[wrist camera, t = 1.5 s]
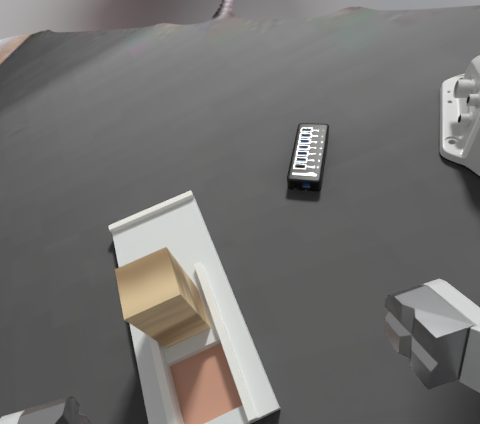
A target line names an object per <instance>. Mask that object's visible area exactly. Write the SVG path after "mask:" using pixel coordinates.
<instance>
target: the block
mask: <svg viewBox="0 0 480 424" xmlns="http://www.w3.org/2000/svg"><path fill="white" fill-rule="evenodd" d="M115 273H116V278H117V284H118V289H119V295H120V300H121V306H122V311H123V317H124V320H125V321H127V322H128V323H130V324H131V325H133V326H134V327H136V328H137V329H139V330H141V331H142V332H144V333H145V334H147V335H148V336H150V337H151V338H153V339H154V340H156V341H157V342H159V343H160V344H162V345H163V346H165V347H166V348H169V347H171V346H173V345H175V344H177V343H180V342H182V341H184V340H186V339H188V338H190V337H193V336H195V335H197V334H199V333H201V332H203V331H206V330H208V329H210V328H211V327H210V324H209V321H208V318H207V315H206V312H205V309H204V306H203V303H202V300H201V298H200V295H199V292H198V289H197V287H196V286H195V284H194V283H193V282H192V280H191V279H190V278H189V276H188V275H187V274H186V272H185V271H184V270H183V268H182V267H181V266H180V264H179V263H178V262H177V260H176V259H175V258H174V256H173V255H172V254H171V253H170V251H169V250H168V249H167V247H165V248H162V249H160V250H158V251H156V252H153V253H151V254H149V255H146V256H144V257H142V258H140V259H137V260H135V261H133V262H131V263H128V264H126V265H124V266H121V267H119V268H117V269H115Z"/></svg>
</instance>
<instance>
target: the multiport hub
mask: <svg viewBox="0 0 480 424" xmlns="http://www.w3.org/2000/svg"><path fill="white" fill-rule="evenodd" d="M328 133H329V125H328V124H307V123H301V124H299V125H298V129H297V134H296V138H295V143H294V148H293V152H292V157H291V162H290V167H289V171H288V176H287V182H288V188H289V189H292V190H305V191H320V190H321V184H322V177H323V170H324V163H325V156H326V149H327V142H328Z"/></svg>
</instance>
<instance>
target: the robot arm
mask: <svg viewBox="0 0 480 424" xmlns="http://www.w3.org/2000/svg"><path fill="white" fill-rule="evenodd" d="M440 154H441V155H442V156H443V157H444V158H446V159H448V160H451V161H453V162H456V163H459V164H462V165H464V166H466V167H468V168H469V169H471V170H472V171H473V172H475V173H476V174H478V175H479V176H480V55H479V56H477V57H476V58H474V59H473V60H472V61H471V62H470V64H469V66H468V68H467V70H466V72H465V74H461V75H458V76H455V77H452V78H450V79H448V80H446V81H444V82H443V84H442V86H441V88H440ZM385 307H386V308H387V309H388V310H389V311H390V312H389V313H388V315H387V316H386V317H385V331H386V334H387V337H388V339H389V341H390V343H391V344H392V346H393V347H394V349H395V350H396V351H397V352H398V354H401V355H403V356H405V357H407V358H409V359H410V368H411V369H412V371H413V372H414V373H415V374H416V375H417V377H418V378H419V379H420V380H421V381H422V383H423V384H424V385H425V386H426V387H427V389H428V390H429V389H432V388H435V387H438V386H441V385H444V384H447V383H450V382H453V381H456V380H459V379H460V380H459V382H461V383H463V384H465V385H466V386H468V387H470V388H472V389H474V390H475V391H477V392H479V393H480V308H479V307H478V306H477V305H476V304H474V303H473V302H472V301H470V300H469V299H468V298H467V297H465V296H464V295H463V294H461V293H460V292H459V291H458V290H456V289H455V288H454V287H452V286H451V285H450V284H448V283H447V282H446V281H444V280H441V279H437V280H434V281H431V282H428V283H425V284H422V285H418V286H415V287H412V288H409V289H405V290H402V291H399V292H396V293H393V294H390V295H388V296H387V298H386V301H385ZM79 406H80V404H79V403H78V402H77V400H76V399H75V397H74V396H72V397H67V398H64V399H60V400H57V401H53V402H50V403H46V404H43V405H40V406H36V407H33V408H29V409H26V410H23V411H20V412H16V413H13V414H10V415H6V416H3V417H1V419H0V424H91V422H90V421H89V419H88V417H87V416H85V415H82V414H79V413H78V412H79Z"/></svg>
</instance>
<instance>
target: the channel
mask: <svg viewBox="0 0 480 424" xmlns="http://www.w3.org/2000/svg"><path fill="white" fill-rule="evenodd" d="M109 230H110V231H111V232H112V235H113V240H114V245H115V250H116V256H117V261H118V266H119V267H121V266H124V265H126V264H128V263H131V262H133V261H135V260H137V259H140V258H142V257H144V256H146V255H149V254H151V253H153V252H156V251H158V250H160V249H162V248H165V247H167V249H168V250H169V251H170V253H171V254H172V255H173V256H174V258H175V259H176V260H177V262H178V263H179V264H180V266H181V267H182V268H183V270H184V271H185V272H186V274H187V275H188V276H189V278H190V279H191V280H192V282H193V283H194V284H195V286H196V287H197V289H198V292H199V295H200V298H201V300H202V303H203V306H204V309H205V312H206V315H207V318H208V321H209V324H210V327H211V328H210V329H208V330H206V331H203V332H201V333H199V334H197V335H195V336H193V337H190V338H188V339H186V340H184V341H182V342H180V343H177V344H175V345H173V346H171V347H169V348H166V347H165V346H163V345H162V344H160V343H159V342H157V341H156V340H154V339H153V338H151V337H150V336H148V335H147V334H145V333H144V332H142V331H141V330H139V329H137V328H136V327H134V326H133V325H131V324H130V323H129V324H130V329H131V334H132V339H133V345H134V350H135V355H136V360H137V366H138V371H139V376H140V381H141V386H142V392H143V397H144V402H145V407H146V413H147V418H148V423H149V424H251V423H253V422H255V421H257V420H259V419H262V418H264V417H266V416H268V415H270V414H272V413H274V412H276V411H278V410H280V407H279V404H278V402H277V399H276V397H275V394H274V392H273V389H272V387H271V384H270V382H269V379H268V377H267V375H266V372H265V370H264V367H263V365H262V362H261V360H260V357H259V355H258V352H257V350H256V347H255V345H254V342H253V340H252V338H251V335H250V333H249V330H248V328H247V325H246V323H245V320H244V318H243V315H242V313H241V310H240V308H239V306H238V303H237V301H236V298H235V296H234V293H233V291H232V288H231V286H230V283H229V281H228V278H227V276H226V274H225V271H224V269H223V266H222V264H221V261H220V259H219V256H218V254H217V251H216V249H215V246H214V244H213V242H212V239H211V237H210V234H209V232H208V229H207V227H206V224H205V222H204V219H203V217H202V214H201V212H200V210H199V207H198V205H197V202H196V200H195V198H194V196H193V194H192V192H191V190H190V191H188V192H186V193H183V194H181V195H179V196H176V197H174V198H172V199H169V200H167V201H165V202H162V203H160V204H158V205H155V206H153V207H151V208H148V209H146V210H144V211H141V212H139V213H137V214H134V215H132V216H130V217H127V218H125V219H123V220H120V221H118V222H116V223H113V224H111V225H109Z"/></svg>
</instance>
